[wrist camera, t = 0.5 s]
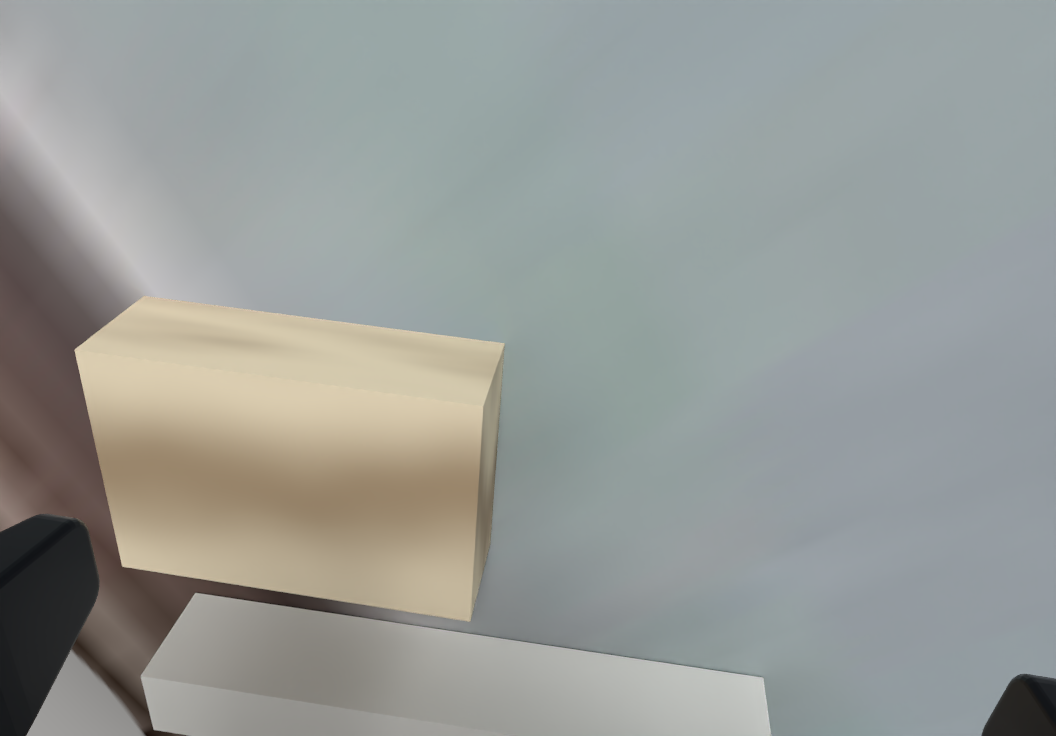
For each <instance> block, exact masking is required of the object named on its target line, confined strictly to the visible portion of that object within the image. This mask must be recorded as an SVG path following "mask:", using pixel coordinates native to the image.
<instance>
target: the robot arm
mask: <svg viewBox="0 0 1056 736" xmlns="http://www.w3.org/2000/svg"><path fill="white" fill-rule="evenodd" d="M98 591H99V574H98V569H97V565H96V561H95V557H94V552H93V548H92V544H91V539H90V535H89V531H88V528H87V526H86V525H85V524H84V523H83V521H81V520H79V519H77V518H71V517H65V516H58V515H52V514H39V515H36V516H33V517H31V518H29V519H27V520H24V521H22V522H20V523H18V524H16V525H14V526H12V527H10V528H8V529H6V530H4V531H1V532H0V736H26V735H27V733H28V731H29V729H30V727H31V725H32V724H33V722H34V720H35V718H36V716H37V714H38V712H39V710H40V709H41V706H42V705H43V703H44V701H45V699H46V697H47V695H48V693H49V691H50V689H51V687H52V685H53V683H54V681H55V679H56V678H57V675H58V674H59V672H60V670H61V668H62V666H63V664H64V662H65V660H66V658H67V656H68V654H69V652H70V650H71V649H72V647H73V645H74V643H75V641H76V639H77V637H78V635H79V633H80V631H81V629H82V627H83V625H84V623H85V621H86V619H87V618H88V616H89V614H90V612H91V610H92V608H93V606H94V604H95V601H96V599H97V596H98ZM982 736H1056V679H1054V678H1048V677H1042V676H1036V675H1030V674H1020V675H1018V676H1016V677H1015V678H1013V679H1012V680H1011V681H1010V683H1009V684H1008V686H1007V688H1006V690H1005V691H1004V693H1003V695H1002V697H1001V698H1000V700H999V702H998V704H997V705H996V707H995V709H994V711H993V712H992V714H991V716H990V718H989V719H988V721H987V723H986V725H985V727H984V729H983V732H982Z"/></svg>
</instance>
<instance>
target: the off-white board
mask: <svg viewBox="0 0 1056 736" xmlns="http://www.w3.org/2000/svg"><path fill="white" fill-rule="evenodd" d="M141 680H142V684H143V688H144V692H145V696H146V701H147V705H148V709H149V713H150V717H151V721H152V725H153V729H154V730H159V731H165V732H171V733H177V734H183V735H189V736H771V730H770V723H769V716H768V709H767V701H766V694H765V687H764V680H763V678H762V677H756V676H749V675H742V674H736V673H729V672H722V671H715V670H709V669H702V668H695V667H689V666H682V665H675V664H669V663H662V662H655V661H649V660H642V659H635V658H628V657H622V656H615V655H608V654H602V653H595V652H588V651H582V650H575V649H568V648H562V647H555V646H548V645H541V644H535V643H528V642H521V641H515V640H508V639H501V638H495V637H488V636H481V635H475V634H468V633H461V632H454V631H448V630H441V629H434V628H428V627H421V626H414V625H408V624H401V623H394V622H388V621H381V620H374V619H367V618H361V617H354V616H347V615H341V614H334V613H327V612H321V611H314V610H307V609H301V608H294V607H287V606H280V605H274V604H267V603H260V602H254V601H247V600H240V599H234V598H227V597H220V596H214V595H207V594H200V593H195V594H194V596H193V597H192V599H191V600H190V602H189V603H188V605H187V606H186V608H185V609H184V611H183V612H182V614H181V615H180V617H179V619H178V620H177V622H176V623H175V625H174V626H173V628H172V629H171V631H170V632H169V634H168V635H167V637H166V638H165V640H164V641H163V643H162V644H161V646H160V647H159V649H158V650H157V652H156V653H155V655H154V656H153V658H152V659H151V661H150V662H149V664H148V665H147V667H146V668H145V670H144V672H143V673H142V675H141Z"/></svg>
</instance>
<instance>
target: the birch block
mask: <svg viewBox="0 0 1056 736" xmlns="http://www.w3.org/2000/svg"><path fill="white" fill-rule="evenodd" d="M504 345H505V343H498V342H490V341H482V340H475V339H467V338H459V337H452V336H444V335H437V334H429V333H421V332H414V331H406V330H399V329H391V328H383V327H376V326H368V325H361V324H353V323H345V322H338V321H330V320H323V319H315V318H307V317H300V316H292V315H285V314H277V313H269V312H262V311H254V310H247V309H239V308H231V307H224V306H216V305H208V304H201V303H193V302H186V301H178V300H170V299H163V298H155V297H148V296H143V297H142V298H141V299H139V300H138V301H137V302H135V303H134V304H133V305H132V306H130V307H129V308H128V309H126V310H125V311H124V312H123V313H121V314H120V315H119V316H117V317H116V318H115V319H114V320H112V321H111V322H110V323H108V324H107V325H106V326H104V327H103V328H102V329H101V330H99V331H98V332H97V333H95V334H94V335H93V336H92V337H90V338H89V339H88V340H86V341H85V342H84V343H83V344H81V345H80V346H79V347H77V348H76V349H75V354H76V359H77V363H78V368H79V372H80V377H81V381H82V386H83V390H84V395H85V399H86V404H87V408H88V413H89V418H90V422H91V427H92V431H93V436H94V440H95V445H96V449H97V454H98V458H99V463H100V468H101V472H102V477H103V481H104V486H105V490H106V495H107V499H108V504H109V508H110V513H111V517H112V522H113V527H114V531H115V536H116V540H117V545H118V549H119V554H120V558H121V563H122V567H128V568H135V569H141V570H147V571H153V572H160V573H166V574H172V575H179V576H185V577H191V578H198V579H204V580H210V581H216V582H223V583H229V584H235V585H242V586H248V587H254V588H261V589H267V590H273V591H279V592H286V593H292V594H298V595H305V596H311V597H317V598H324V599H330V600H336V601H343V602H349V603H355V604H361V605H368V606H374V607H380V608H387V609H393V610H399V611H406V612H412V613H418V614H424V615H431V616H437V617H443V618H450V619H456V620H462V621H469V622H470V621H471V617H472V613H473V609H474V605H475V601H476V597H477V594H478V590H479V586H480V582H481V578H482V574H483V570H484V566H485V562H486V559H487V555H488V551H489V547H490V540H491V526H492V512H493V498H494V484H495V470H496V456H497V442H498V429H499V415H500V401H501V387H502V373H503V359H504Z"/></svg>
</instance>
